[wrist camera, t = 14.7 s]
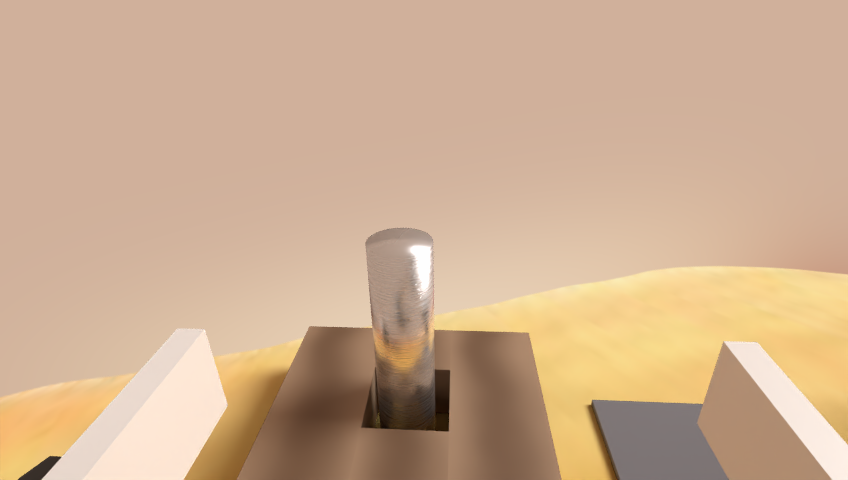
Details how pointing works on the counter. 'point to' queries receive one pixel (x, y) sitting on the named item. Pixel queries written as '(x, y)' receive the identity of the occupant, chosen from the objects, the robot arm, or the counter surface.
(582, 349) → the counter surface
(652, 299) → the counter surface
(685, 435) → the rubber mat
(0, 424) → the counter surface
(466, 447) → the socket block
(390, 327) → the metal pin
